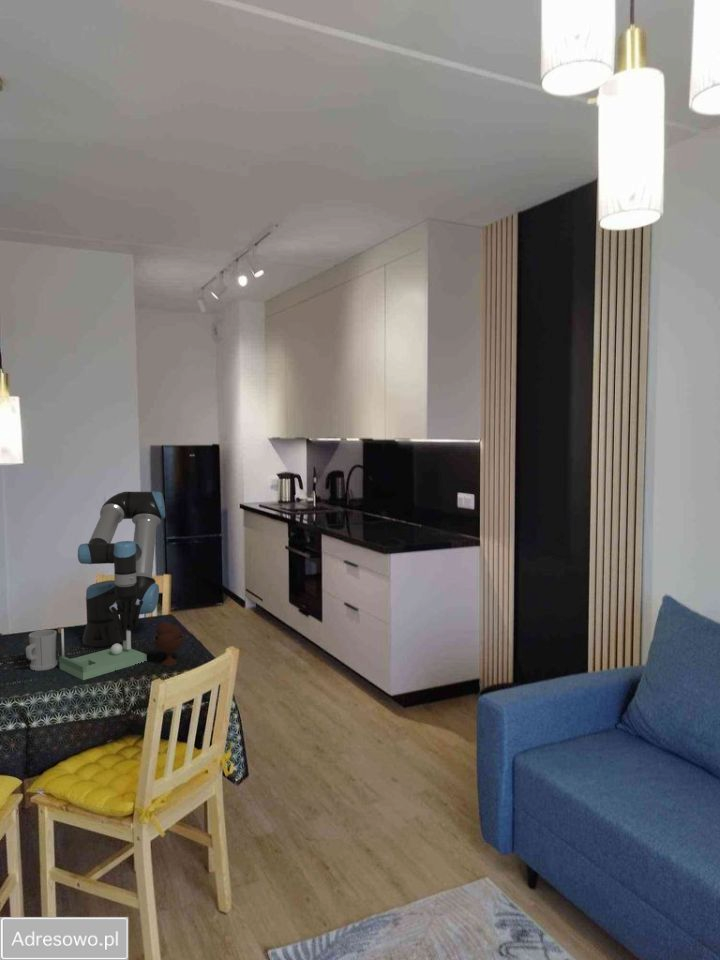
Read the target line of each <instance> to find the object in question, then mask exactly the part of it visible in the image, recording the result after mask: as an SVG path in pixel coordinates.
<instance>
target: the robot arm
mask: <svg viewBox="0 0 720 960" xmlns="http://www.w3.org/2000/svg"><path fill="white" fill-rule="evenodd" d="M165 518H166V507H165V500H164V496H163V493H162V492H160V491H153V490H151V491H123V492H119V493H117V494H115V495H113V496H111V497H110V498H108V500H106V501H105V502H104V504H103V505H102V507H100V511H99V519H98V521H97V524H96V525H95V528H94V530H93V533H92V535H91V537H90V539H89V542H88V543H81V544H79V545H78V548H77V559H78V560H77V561H78V562H79V563H80V564H82V565H98V564H100V565H102V564H103V565H104V564H113V567H114V580H113V579H112V580H103V581H99V582H95V583H92V584H90V585H88V587H87V588H86V591H85V594H86V595H85V596H86V597H85V604H86V605H85V606H86V625H85V629H84V632H83V636H82V645H84V646H86V647H91V648H100V647H102V648H103V647H109V646H110V647H111V646H112V645H114V644H116V643H118V644H120V643H122V645H123V648H124V649H127V650H128V649H132V639H133V632H134V630H135V629H136V628H138V624H139V620H140V619H139V618H140V615H144V614H145V615H146V614H152V613H154V611H156V608H157V605H158V602H159V595H160V586H159V584H158V583H157V582H156V581H157V580H156V579H155V578H154V577H153V571H154V569H153V568H154V559H155V545H156V535H157V526H159V525H161V522H162V521H161V520H163V519H165ZM123 520H131V521H132V524H133V525H134V533H133V541H132V540H123V541H122V540H121V541H117V542H113V543H112V541H113V538H114V536H115V534H116V531H117V528H118V526H119V524H120V523H122V521H123Z"/></svg>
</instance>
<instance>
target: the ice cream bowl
mask: <svg viewBox="0 0 720 960" xmlns="http://www.w3.org/2000/svg"><path fill="white" fill-rule="evenodd" d="M155 631H156V634H157V635H155V636H154V637H152V638H153V639H152V640H153V644H154V646H155V647H156V649H158V650H159V651H160V652H163V653H165V654H166V659H164V660H163V661H162V662H161V663H162V664H161V666H164V665H165V667H171V666H175V665H176V664H178V662H177V659H174V658H173V657H172V656H173V653H174V652H175V651H177V650H179V649H180V648H181V647H182V646H183V645H184V643H185V639H186V638H185V635H184V634H183V632H182V630H181V629H180V627H179V626H178V625H175V624H172V623H170V622H169V621H164V622H160V623H159V624H158V626H157V627H156V630H155Z"/></svg>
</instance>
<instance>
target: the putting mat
mask: <svg viewBox="0 0 720 960" xmlns="http://www.w3.org/2000/svg"><path fill="white" fill-rule="evenodd" d="M64 631H65V630H64V628H63V627H61V626H60V627H57V633H58V634H61V635H60V637H61V640H60V641H61V655H60V656H59V670H61V671H63V672H65V673H67V674H69V675H71V676H73V677H75V678H77V679H79V680H82V681H86V680H89V679H92V678H95V677H98V676H103V675H104V674H105V675H106V674H109V673H112V672H115V670H116V671H118V670H122V669H124V668H128V667H133V666H135V664H136V665H138V663H139V664H141V662H142V663H145V662H144V661H146V662H148V661H147V660H148V659H147V655H148V654H147V653H145V652H142V651H138V650H136V649H133V648H131V649H128V650H127V649H124V648H123V644H121V646H122V648H123V649H122V652H121V653H120V654H118V655H114V654H112V652H111V647H110V648H106V649H102V650H99V651H96V652H92V653H89V654H83V655H81V656H77V657H73V658H69V657H66V656H65V632H64Z"/></svg>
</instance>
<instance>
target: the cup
mask: <svg viewBox="0 0 720 960" xmlns="http://www.w3.org/2000/svg"><path fill="white" fill-rule="evenodd" d="M28 640H29V645H27V646H26V648H25V656H26V659H27V660H29V661H30V663H29V668H30V670H32V671H34V670H35V671H36V672H41V671H42V672H43V671H48V670H51V669H54V668H56V667H57V666H58V659H57V658H56V657H57V653H56V651H57V630H54V629H41V630H37V631H35V630H34V631H33V632H30V633H29V634H28Z"/></svg>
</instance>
